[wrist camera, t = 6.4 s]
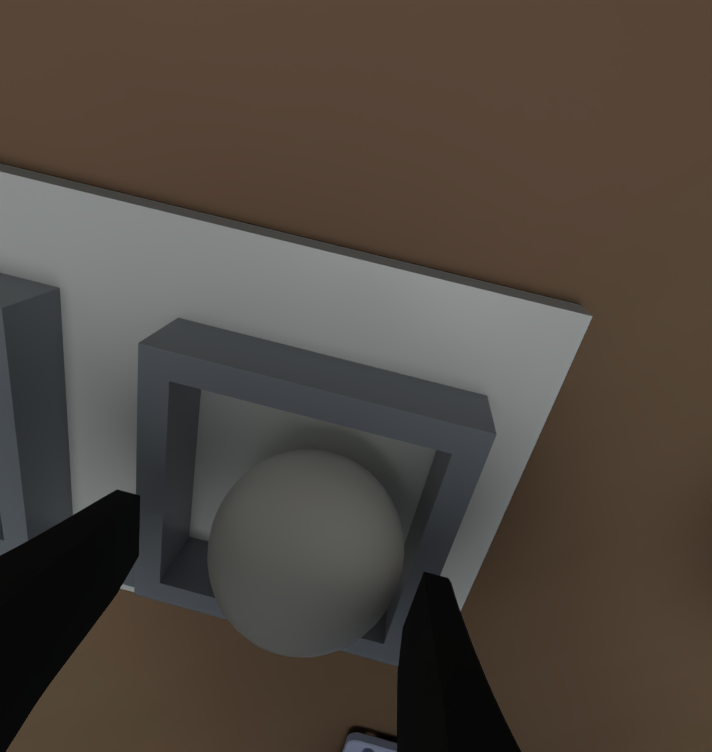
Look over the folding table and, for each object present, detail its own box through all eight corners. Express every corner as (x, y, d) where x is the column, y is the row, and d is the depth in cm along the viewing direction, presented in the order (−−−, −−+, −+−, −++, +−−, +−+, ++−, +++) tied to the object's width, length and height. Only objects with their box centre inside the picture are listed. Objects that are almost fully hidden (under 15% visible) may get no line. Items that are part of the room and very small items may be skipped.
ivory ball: (400, 424, 14) (457, 556, 10) (362, 547, 16) (395, 702, 12) (227, 403, 13) (205, 544, 9) (209, 539, 15) (184, 708, 11)
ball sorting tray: (580, 304, 13) (622, 345, 10) (432, 648, 19) (432, 732, 16) (-273, 96, 13) (-451, 81, 11) (-151, 490, 19) (-245, 544, 17)
